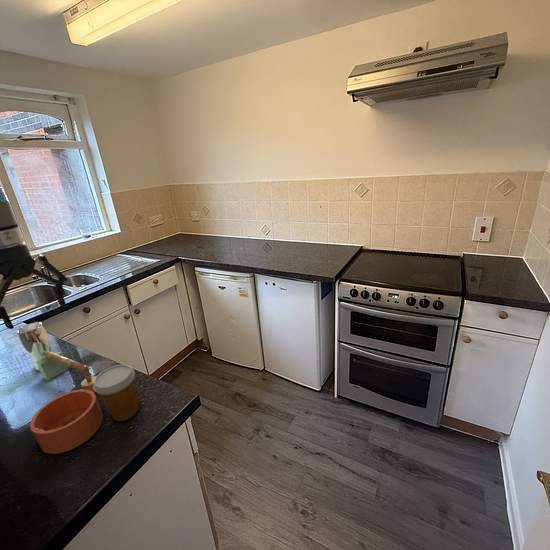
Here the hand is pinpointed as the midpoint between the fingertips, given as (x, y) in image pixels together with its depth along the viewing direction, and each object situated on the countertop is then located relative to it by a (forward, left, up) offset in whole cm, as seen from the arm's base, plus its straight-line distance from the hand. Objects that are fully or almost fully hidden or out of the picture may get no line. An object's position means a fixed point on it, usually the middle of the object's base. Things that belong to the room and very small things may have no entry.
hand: (38, 316), depth 86 cm
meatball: (+12, -22, -20) cm, 33 cm away
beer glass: (-11, +10, -23) cm, 27 cm away
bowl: (+13, -22, -23) cm, 34 cm away
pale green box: (-5, +4, -23) cm, 23 cm away
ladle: (+3, -2, -23) cm, 23 cm away
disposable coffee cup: (+25, -19, -23) cm, 39 cm away
